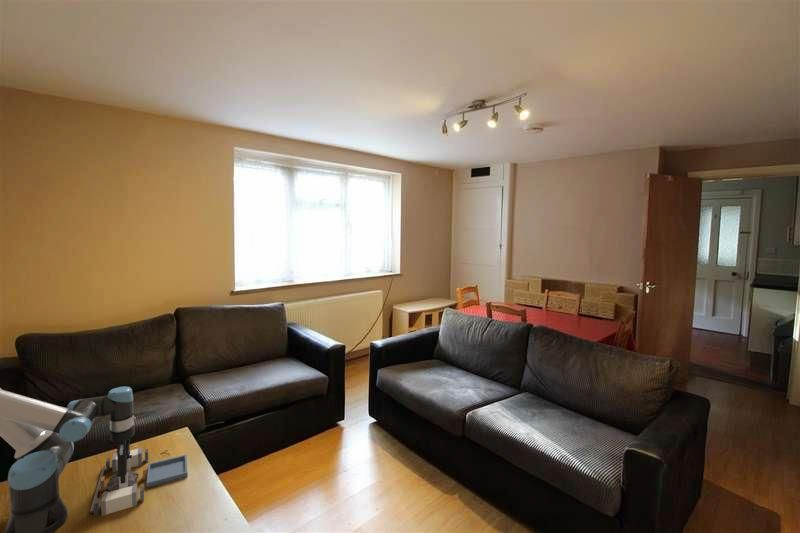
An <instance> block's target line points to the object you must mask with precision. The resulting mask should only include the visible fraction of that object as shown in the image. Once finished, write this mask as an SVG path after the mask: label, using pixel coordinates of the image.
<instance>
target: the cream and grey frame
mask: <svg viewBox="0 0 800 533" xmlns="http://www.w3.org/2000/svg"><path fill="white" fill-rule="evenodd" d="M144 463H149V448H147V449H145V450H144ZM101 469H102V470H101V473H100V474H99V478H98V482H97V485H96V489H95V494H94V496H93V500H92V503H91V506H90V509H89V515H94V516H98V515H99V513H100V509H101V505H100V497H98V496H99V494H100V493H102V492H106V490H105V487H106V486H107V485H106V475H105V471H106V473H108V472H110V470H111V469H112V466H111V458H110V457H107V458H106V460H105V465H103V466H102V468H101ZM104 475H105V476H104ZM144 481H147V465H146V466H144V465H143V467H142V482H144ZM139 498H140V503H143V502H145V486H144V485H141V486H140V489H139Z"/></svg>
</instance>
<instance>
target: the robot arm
mask: <svg viewBox="0 0 800 533" xmlns="http://www.w3.org/2000/svg"><path fill="white" fill-rule="evenodd" d="M104 417H109V430H110V432H109V433H110V441H112V442H113V443H114V442H115V443H117V444H116V447H115V448H116V452H117V458H118V471H117V472H118V474H117V475H116V477H117V476H118V477H119V489H122V488H126V487H128V473H127V470H130V471H131V468H130V459H128V458H132V455H129V454H130V446H131V444H130V442H131V438H133V437H134V436H135V434H136V431H135V420H136V419H137V417H136V416H135V412H134V394H133V389H132V388H131V387H130V386H119V387H115V388H112V389H110V390H109V391H108V393H107V395H101V396H96V397H89V398H80V399H77V400H72V401H70V402H69V403H68V404H67V407H64V406H59V405H56V404H54V403H49V402H47V401H42V400H40V399H35V398H31V397H29V396H25V395H22V394H18V393H15V392H11V391H7V390H5V389H4V390H3V388H1V387H0V437H1V438H2V439H3V440H4V441H5V442H6V443H8V445H10V446H11V447H12V449H14V450H15V453H14V457H13V458H14V459H16V461H15V462H14V463H13V464H12V465H11V467H10V468H9V470H8V474H7V475H8V476H7V485H8V492H9V505H10V516H9V518H8V521H7V523H6V527H5V530H4V533H51V532H52V533H54V532H55V531H57V530H59V529H60V527H61V526H63V524H64V523H66V521H67V520H68V517H69V516H68V507H67V506H66V503H64V501H63V499H62V498H61V496H60V482H59V480H60V476H61V474H62V473H63V471H64V470H65V467H66V466H67V464H68V463H69V462H70V460H71V458H72V457H73V455H74V454H73V453H74V449H75V445H74V442H75V443H76V442H78V441H80V440H82V439H83V438H84V437H86V435H87V434H88V432H90V430H91V429H92V426H93V424H94V422H95V421H96V419H99V418H104ZM53 531H54V532H53Z"/></svg>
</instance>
